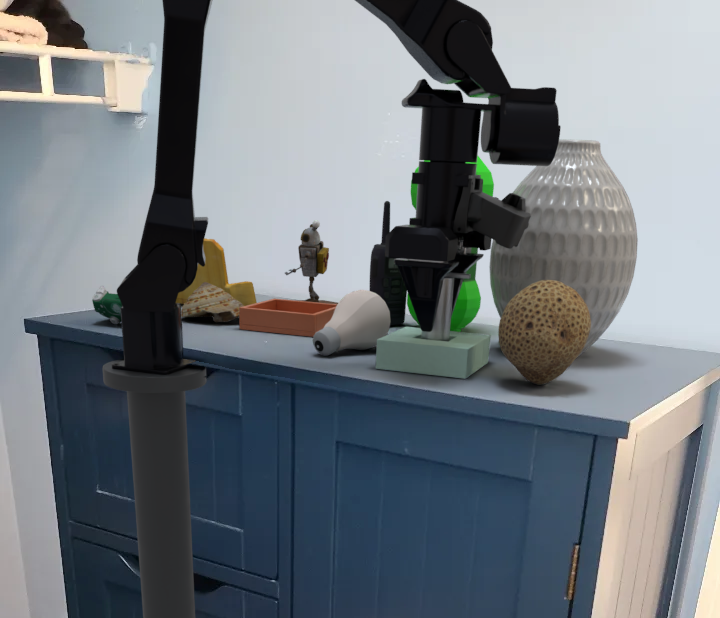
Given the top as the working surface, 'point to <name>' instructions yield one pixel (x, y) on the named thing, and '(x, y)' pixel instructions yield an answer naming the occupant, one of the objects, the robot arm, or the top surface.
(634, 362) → the top surface
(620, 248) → the vase
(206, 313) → the seashell
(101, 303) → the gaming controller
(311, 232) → the robot figurine
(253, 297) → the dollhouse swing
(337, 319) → the light bulb
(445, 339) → the silver cylinder with crossbar
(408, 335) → the green square holed block
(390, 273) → the two-way radio
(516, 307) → the natural sponge
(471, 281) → the plastic bottle
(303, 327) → the dish
